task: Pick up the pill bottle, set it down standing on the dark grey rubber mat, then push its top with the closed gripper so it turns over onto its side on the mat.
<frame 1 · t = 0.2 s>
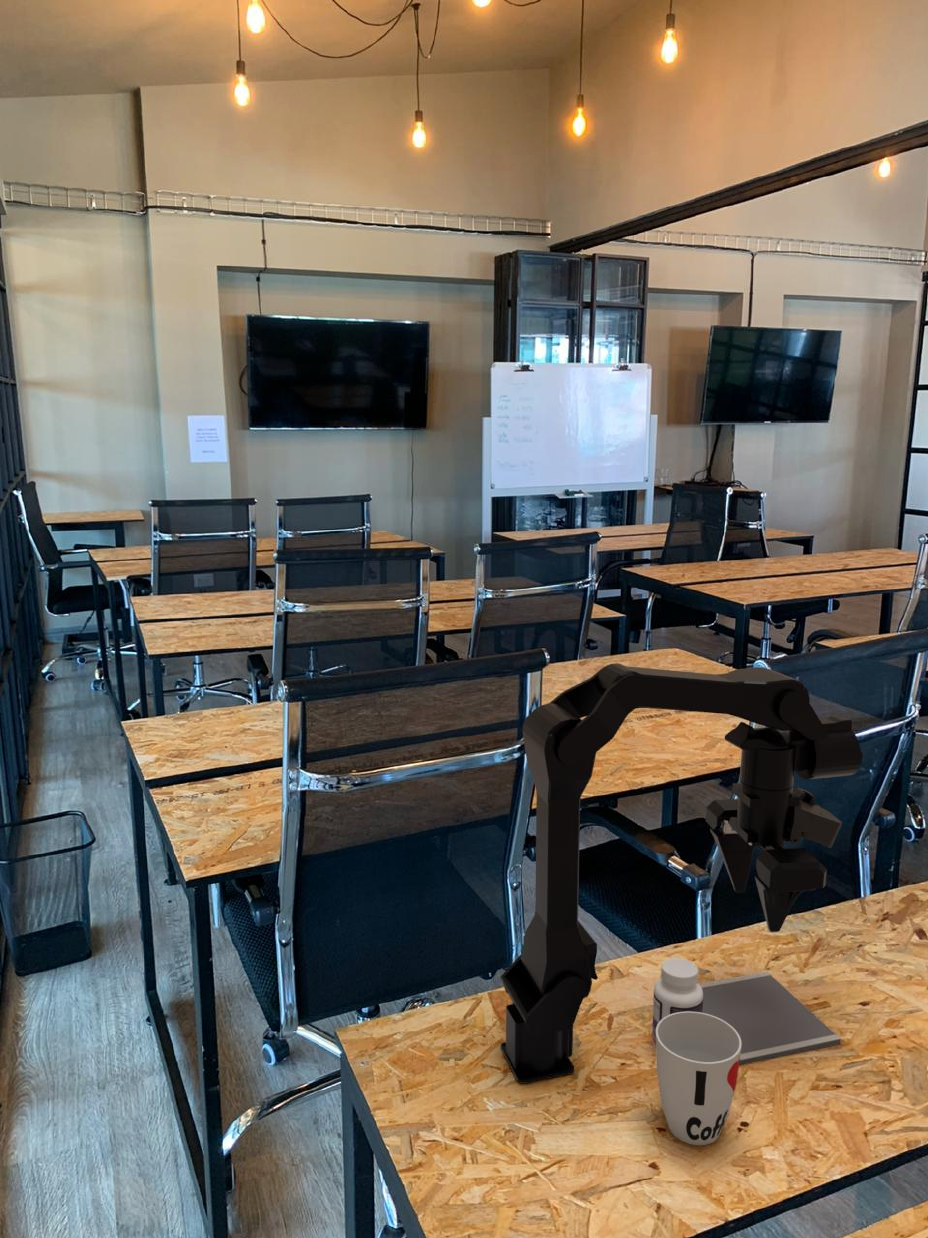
hand: (756, 910, 106), 14 cm above the table, fingers open, 9 cm apart
pill bottle: (675, 1047, 104), on the table
mat: (750, 1018, 109), on the table
cup: (693, 1128, 92), on the table
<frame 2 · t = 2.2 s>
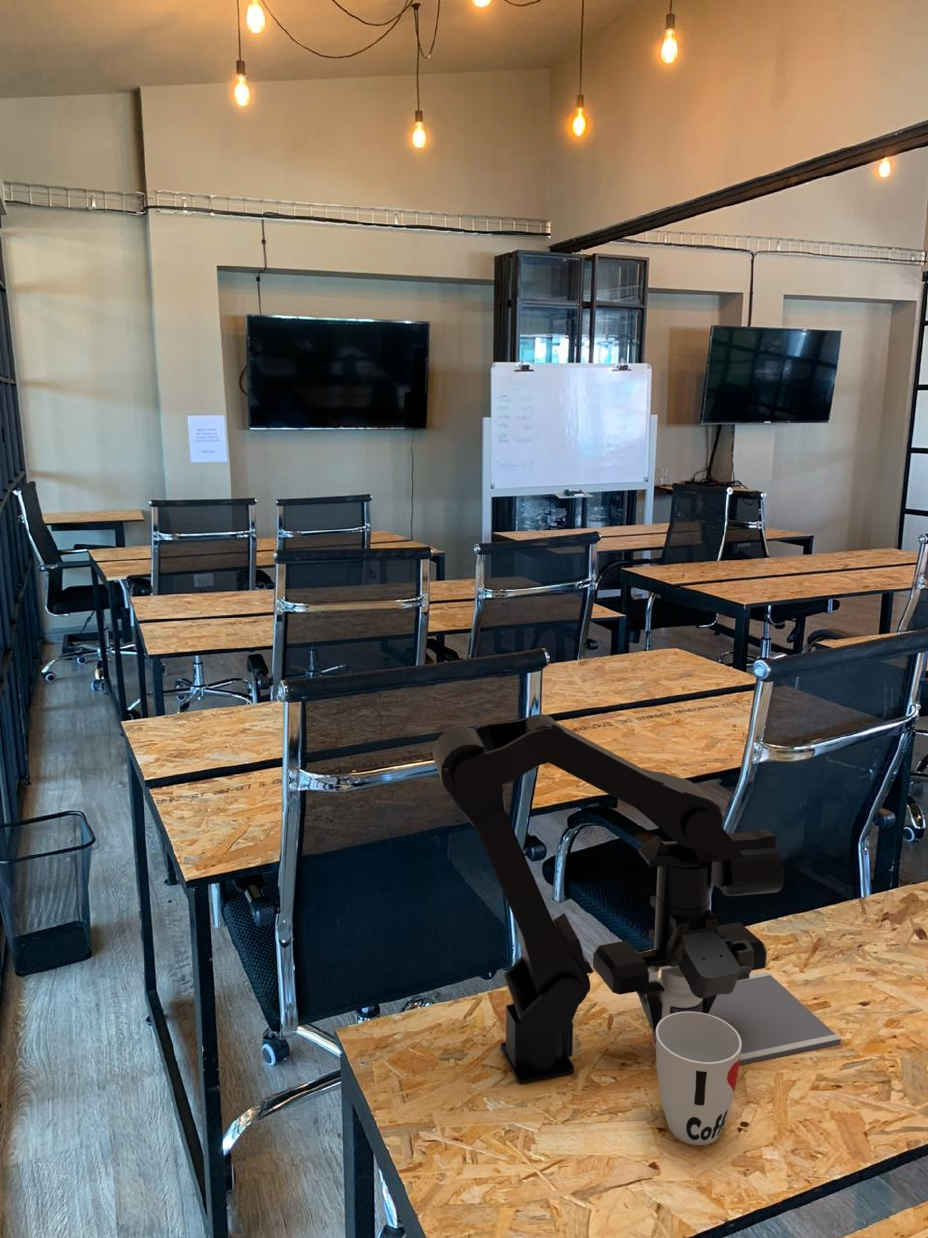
hand: (676, 1025, 104), 3 cm above the table, fingers closed on pill bottle, 5 cm apart
pill bottle: (675, 1047, 104), on the table, touching gripper
everything else where it was.
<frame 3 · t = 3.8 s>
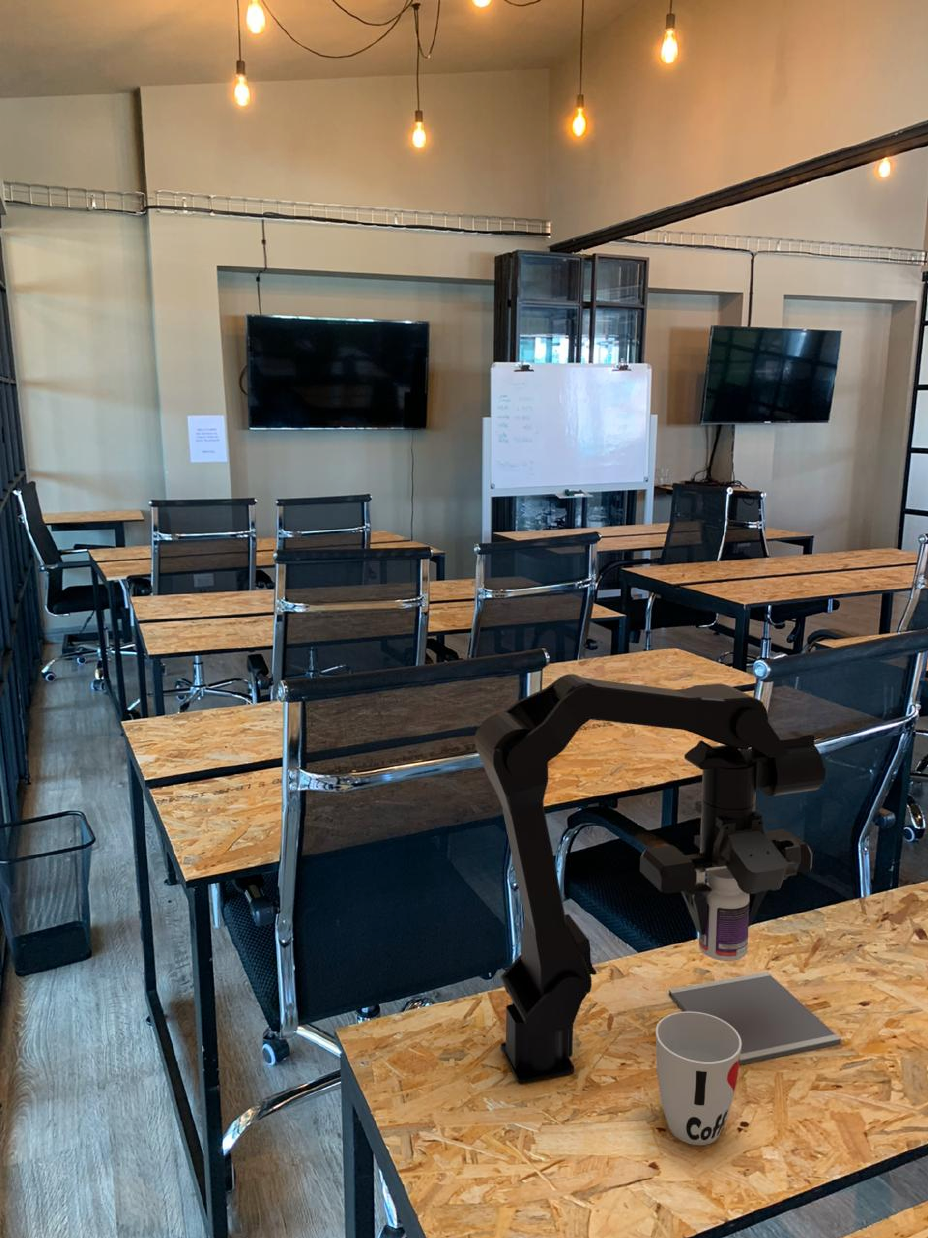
hand: (723, 929, 105), 12 cm above the table, fingers closed on pill bottle, 5 cm apart
pill bottle: (722, 951, 106), point 10 cm above the table, touching gripper
everything else where it was.
when the fingers open (4 cm above the table, at t = 5.7 s): pill bottle stays where it is, resting on mat.
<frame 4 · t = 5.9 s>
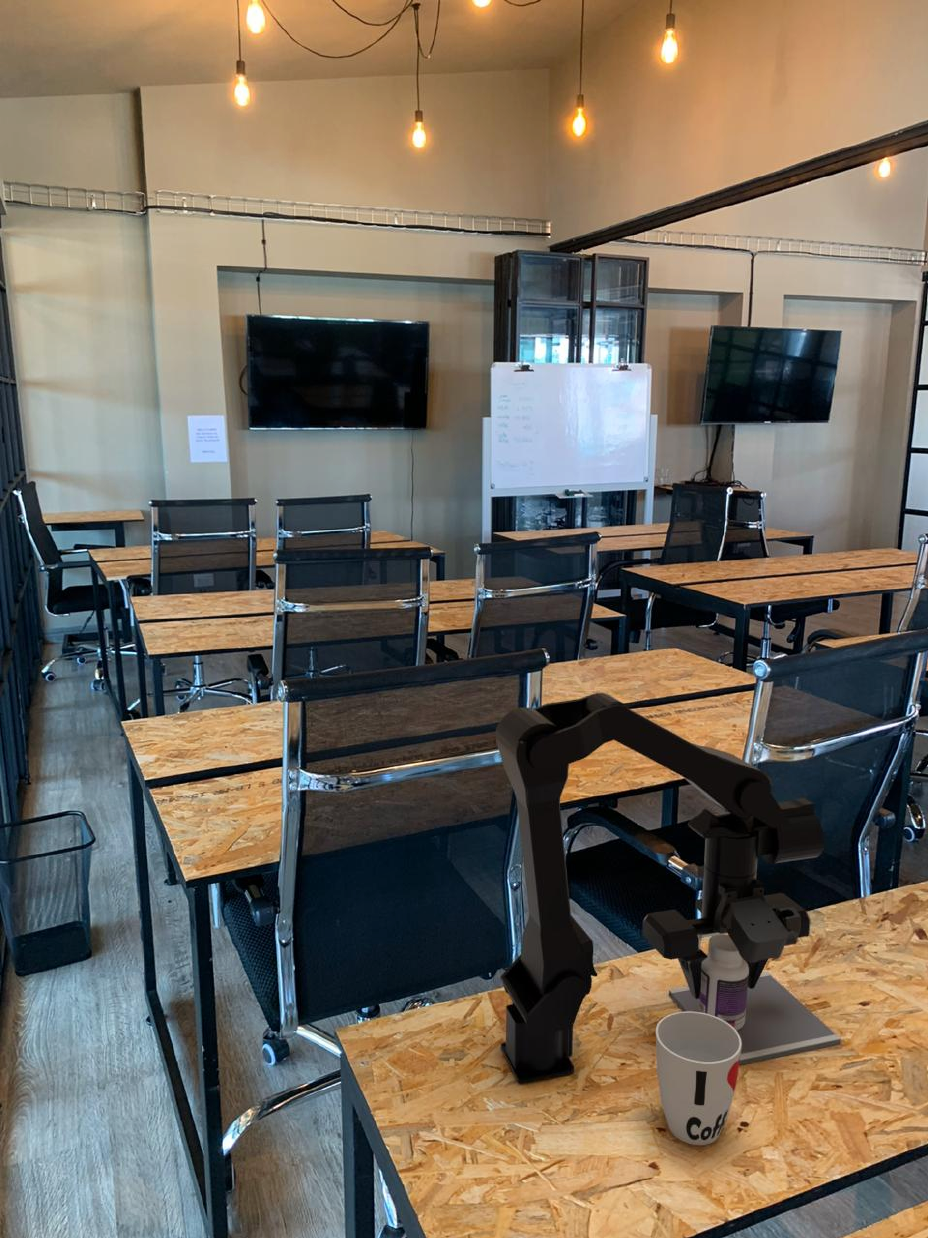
hand: (722, 992, 107), 4 cm above the table, fingers open, 7 cm apart
pill bottle: (720, 1021, 108), resting on mat
everything else where it was.
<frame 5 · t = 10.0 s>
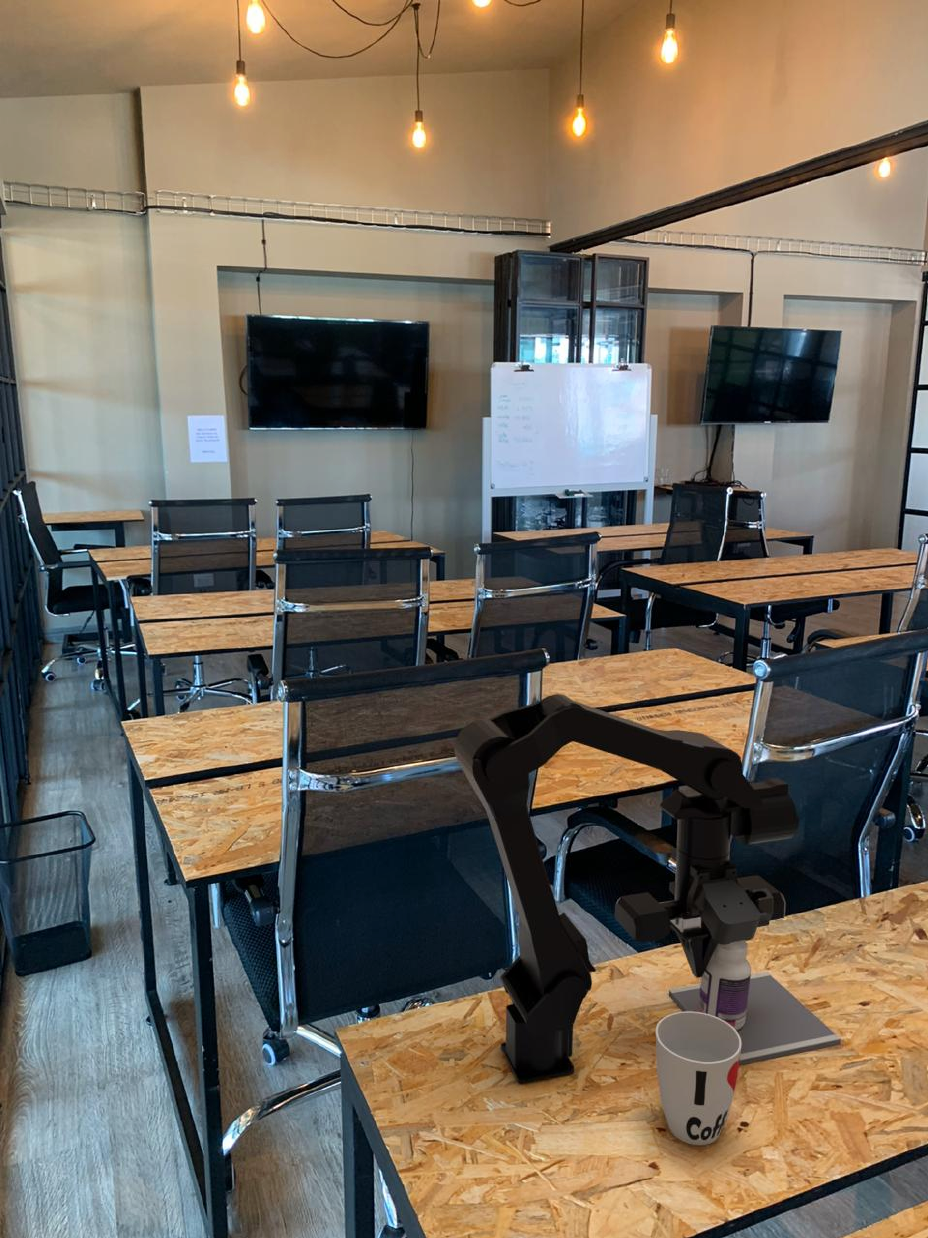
hand: (697, 975, 106), 7 cm above the table, fingers closed
pill bottle: (720, 1020, 108), point 1 cm above the table, touching gripper, mat
everything else where it was.
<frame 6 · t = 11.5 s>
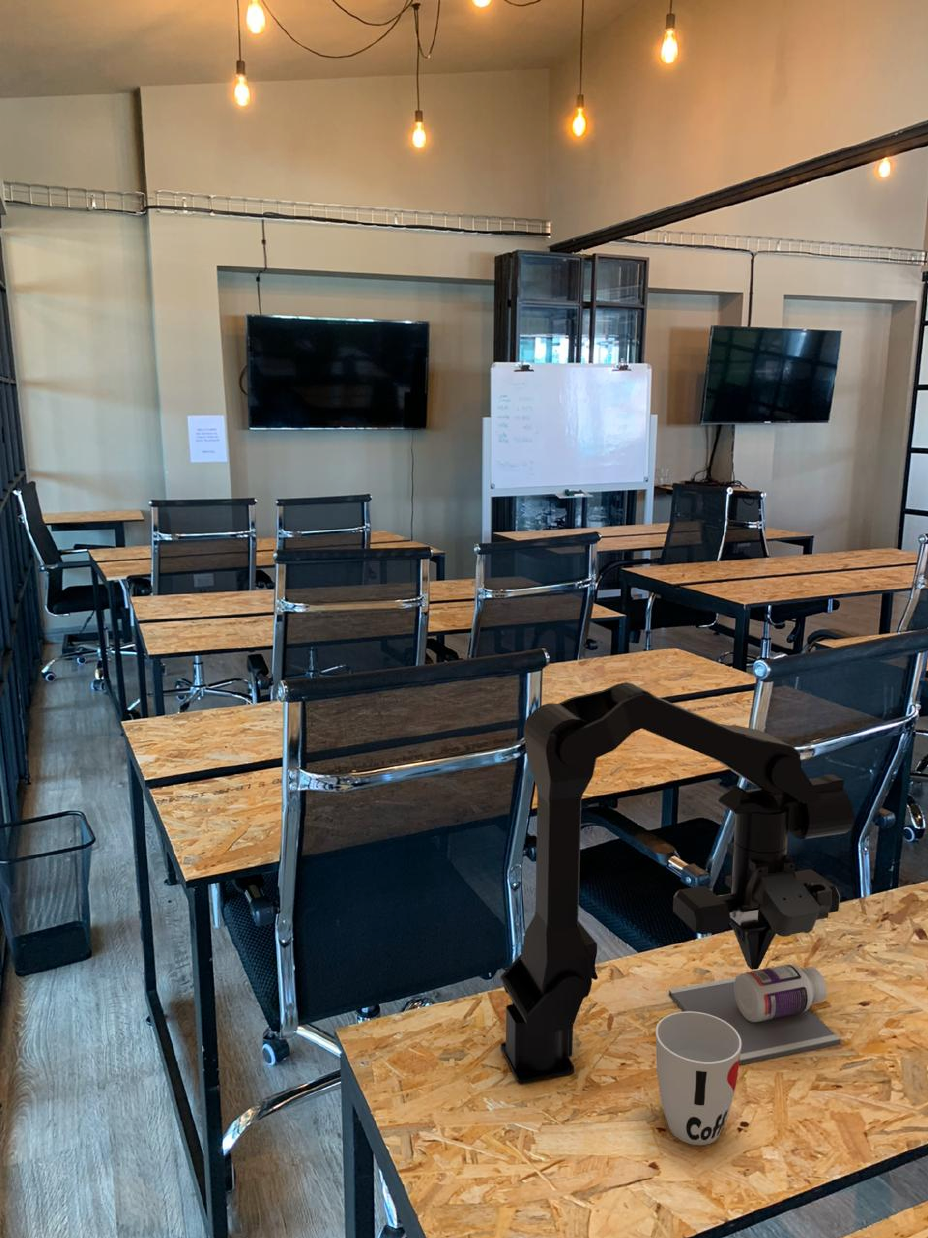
hand: (752, 967, 108), 7 cm above the table, fingers closed
pill bottle: (743, 998, 108), point 3 cm above the table, touching mat
everything else where it was.
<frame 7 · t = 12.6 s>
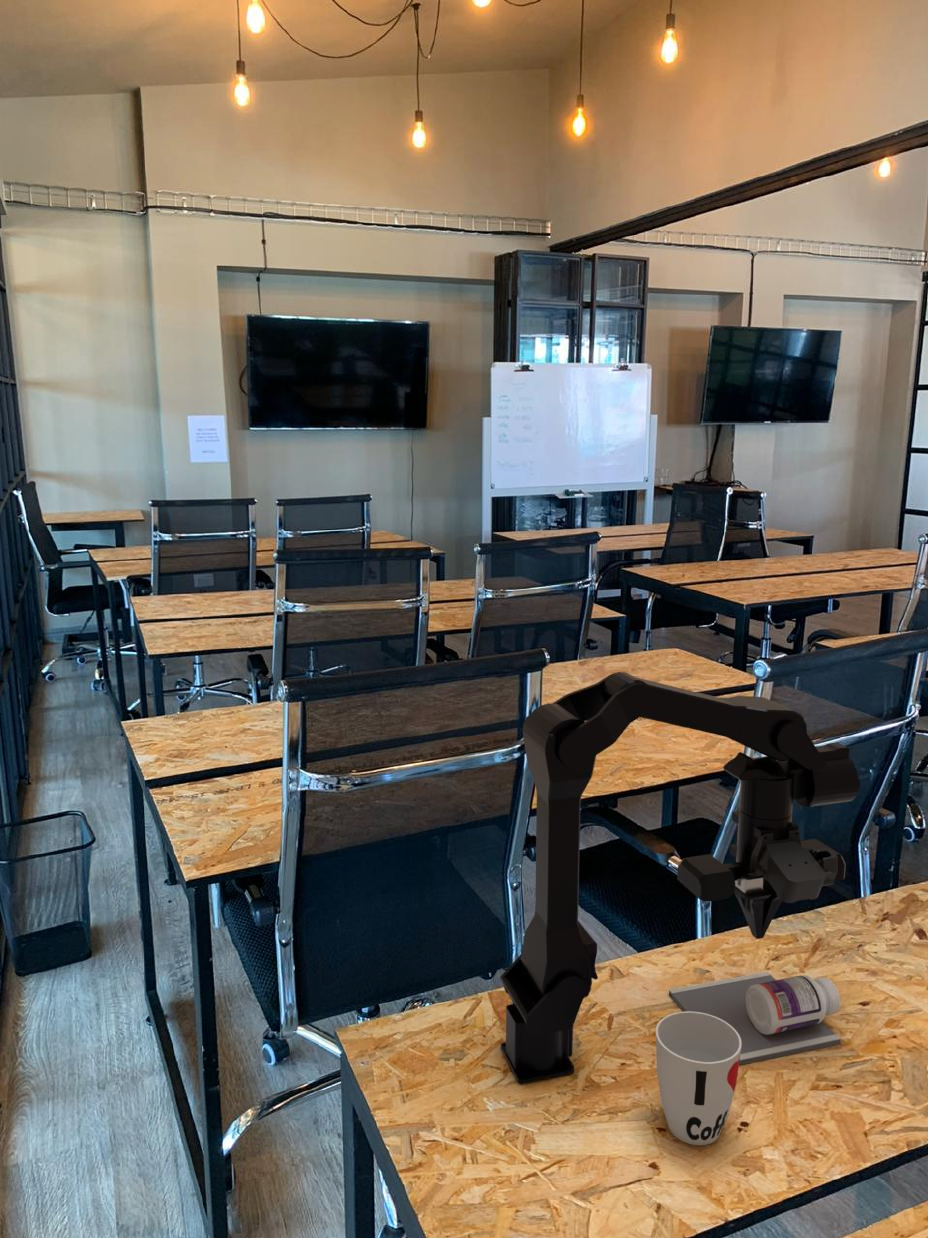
hand: (757, 937, 107), 10 cm above the table, fingers closed
pill bottle: (756, 1010, 105), point 3 cm above the table, touching mat
everything else where it was.
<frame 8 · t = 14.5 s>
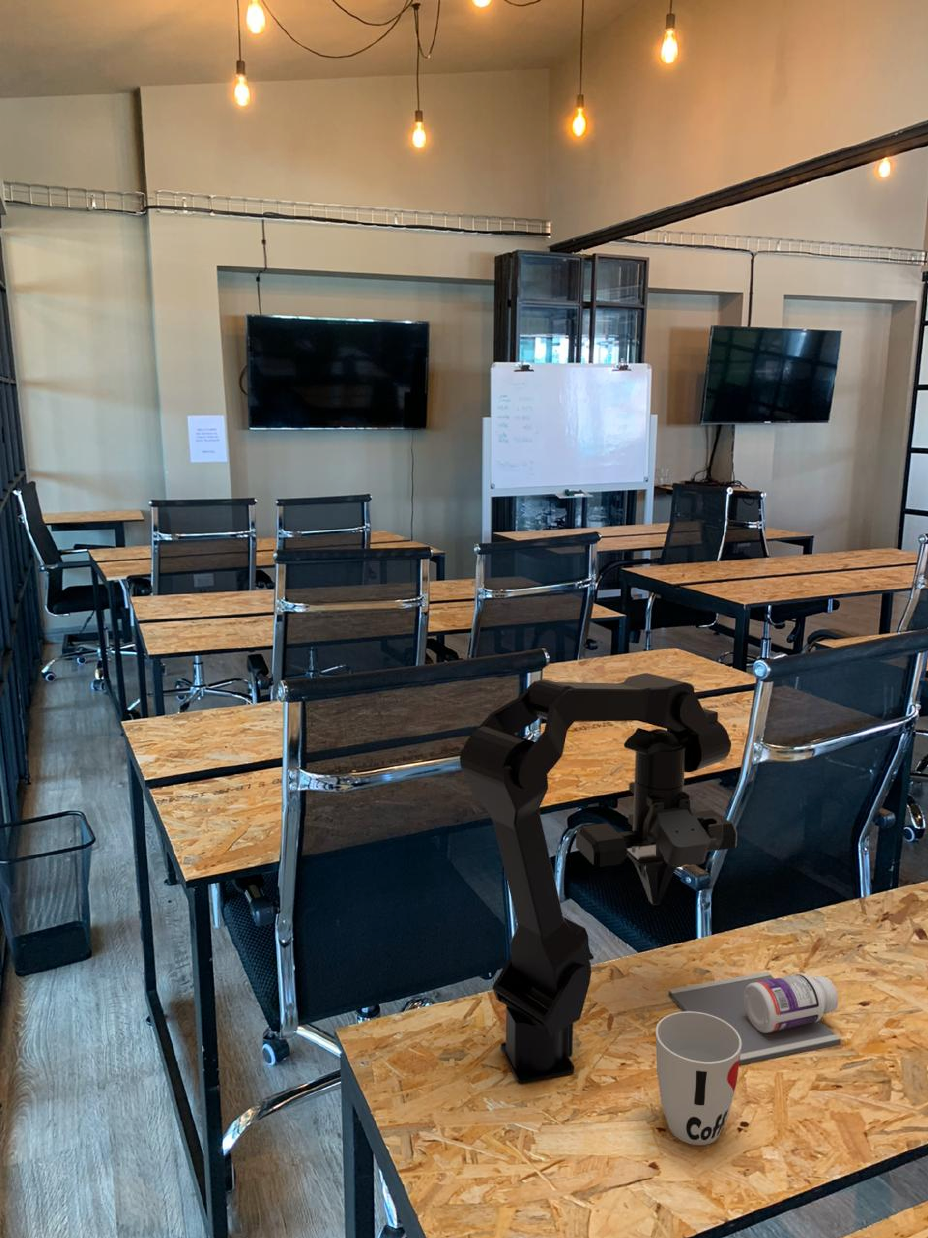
hand: (654, 903, 112), 12 cm above the table, fingers closed
nothing on the table moved.
at the end: pill bottle tilted 91°; pill bottle inside the target area on the mat (3.1 cm from its centre), point 3.3 cm above the mat's base; the gripper is holding nothing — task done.
